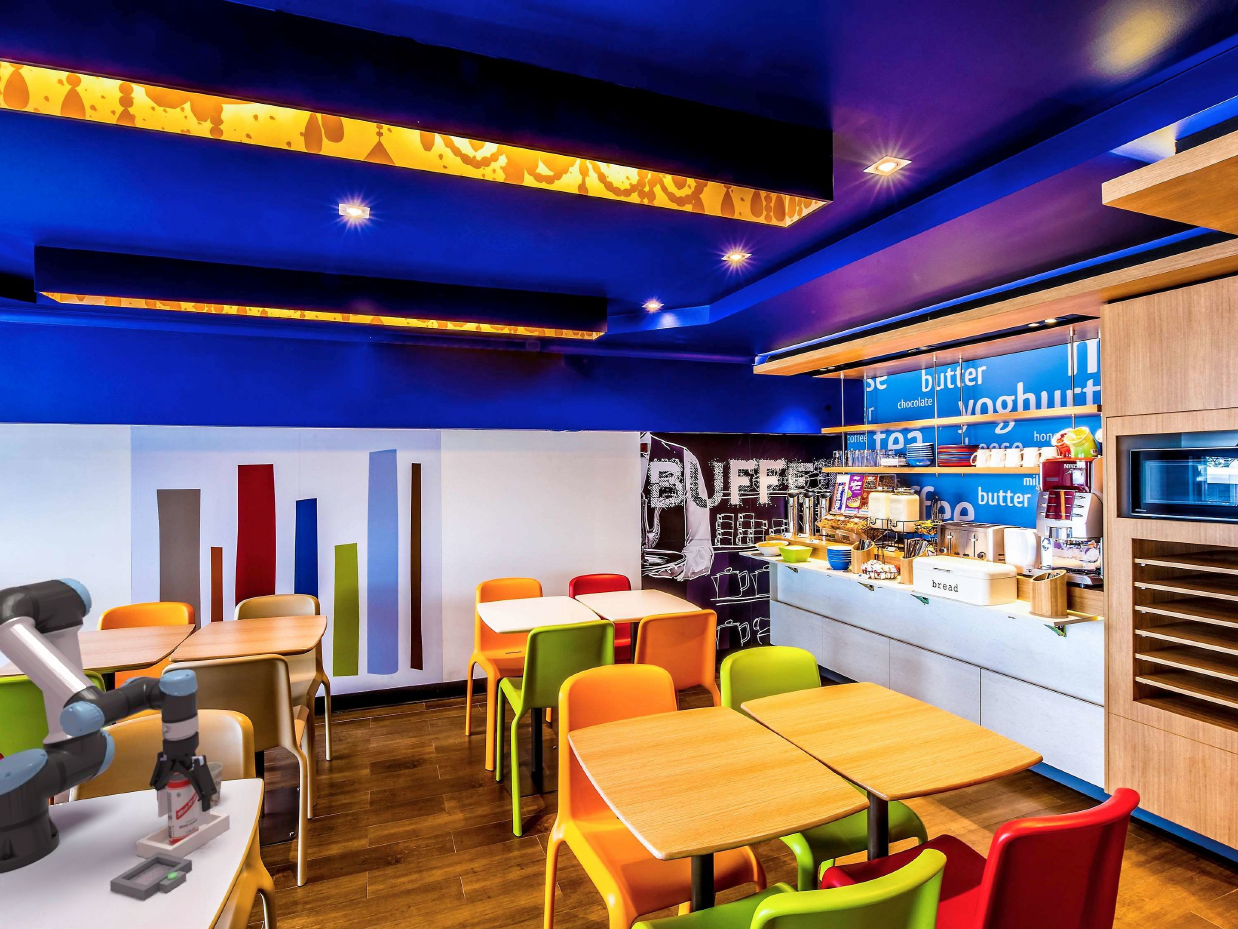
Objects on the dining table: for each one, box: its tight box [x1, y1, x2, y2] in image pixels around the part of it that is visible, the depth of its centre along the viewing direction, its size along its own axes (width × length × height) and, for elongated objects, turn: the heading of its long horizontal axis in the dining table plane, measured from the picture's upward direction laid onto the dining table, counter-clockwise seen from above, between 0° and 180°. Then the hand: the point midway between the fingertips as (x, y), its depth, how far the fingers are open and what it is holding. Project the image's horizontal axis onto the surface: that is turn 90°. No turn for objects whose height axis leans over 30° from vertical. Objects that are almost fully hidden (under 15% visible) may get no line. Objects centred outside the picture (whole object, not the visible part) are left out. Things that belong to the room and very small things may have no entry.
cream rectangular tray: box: [136, 810, 231, 859], centre depth 162 cm, size 11×15×4 cm
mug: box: [190, 761, 224, 809], centre depth 179 cm, size 8×13×10 cm, turn 78°
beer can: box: [166, 773, 199, 845], centre depth 162 cm, size 6×6×16 cm
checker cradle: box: [109, 852, 193, 901], centre depth 147 cm, size 13×11×2 cm
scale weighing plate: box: [130, 863, 173, 885], centre depth 147 cm, size 7×7×1 cm
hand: (184, 819), depth 162 cm, fingers open, 13 cm apart
